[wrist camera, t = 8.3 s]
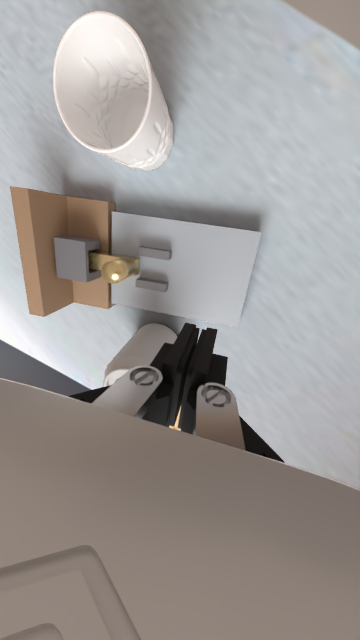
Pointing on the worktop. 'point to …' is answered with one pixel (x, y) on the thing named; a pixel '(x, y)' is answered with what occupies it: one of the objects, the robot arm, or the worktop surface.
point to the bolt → (113, 265)
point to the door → (134, 241)
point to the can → (138, 351)
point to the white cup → (111, 92)
